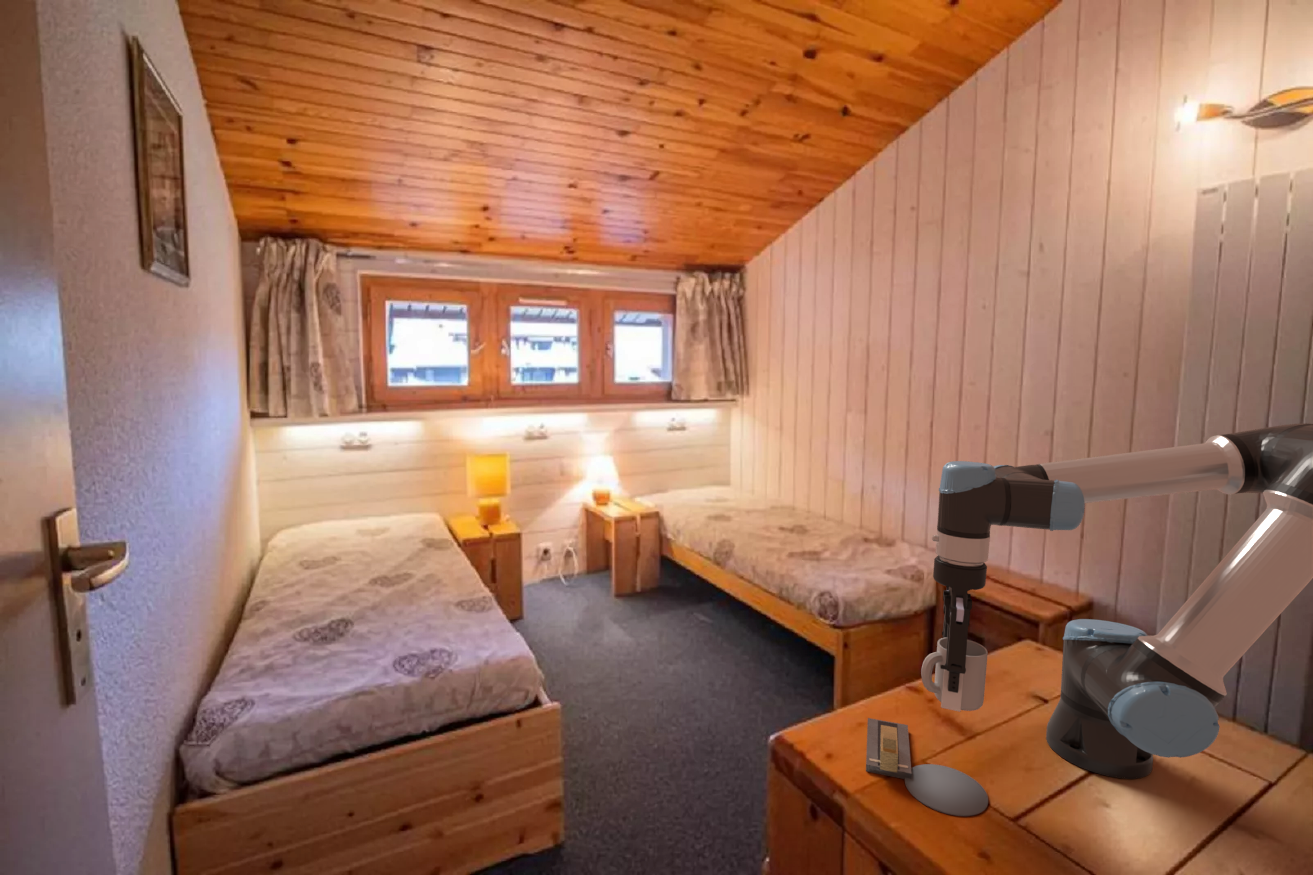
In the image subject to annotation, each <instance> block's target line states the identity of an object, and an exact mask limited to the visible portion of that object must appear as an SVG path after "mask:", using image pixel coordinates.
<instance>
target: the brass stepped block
mask: <svg viewBox="0 0 1313 875" xmlns="http://www.w3.org/2000/svg"><path fill="white" fill-rule="evenodd" d="M897 768H898V742H897V728H895V727H890V726H884V725H881V735H880V769H881V770H886V771H891V772H896V773H897Z"/></svg>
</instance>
